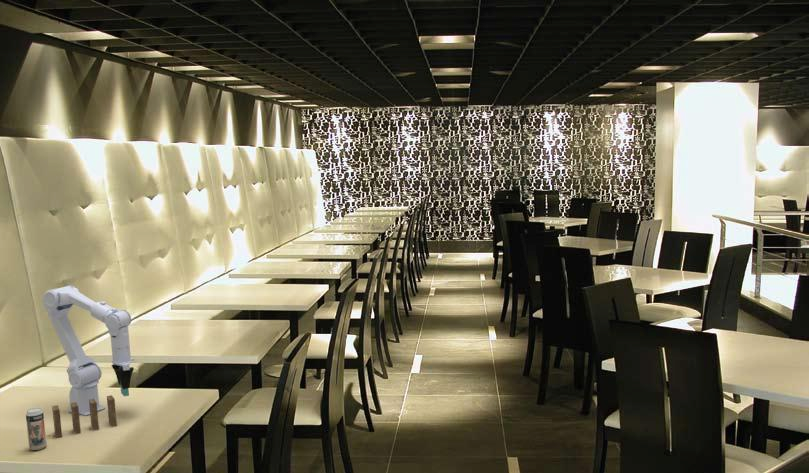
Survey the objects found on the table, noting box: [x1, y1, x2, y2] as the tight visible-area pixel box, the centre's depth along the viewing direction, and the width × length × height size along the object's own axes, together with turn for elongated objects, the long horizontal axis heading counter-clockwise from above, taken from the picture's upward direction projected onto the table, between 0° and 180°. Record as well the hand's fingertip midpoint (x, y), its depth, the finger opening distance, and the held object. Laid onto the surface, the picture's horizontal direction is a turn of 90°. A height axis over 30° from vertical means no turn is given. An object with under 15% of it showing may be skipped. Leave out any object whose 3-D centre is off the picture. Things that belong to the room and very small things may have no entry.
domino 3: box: [89, 399, 100, 431], centre depth 253 cm, size 2×5×9 cm, turn 30°
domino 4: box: [106, 394, 118, 428], centre depth 256 cm, size 2×5×9 cm, turn 30°
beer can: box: [25, 407, 48, 452], centre depth 237 cm, size 5×5×12 cm
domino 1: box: [51, 404, 63, 439], centre depth 248 cm, size 2×5×9 cm, turn 30°
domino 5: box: [119, 367, 130, 397], centre depth 264 cm, size 2×5×9 cm, turn 31°
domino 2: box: [70, 402, 81, 435], centre depth 251 cm, size 2×5×9 cm, turn 30°
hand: (124, 386), depth 264 cm, fingers closed on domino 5, 5 cm apart
